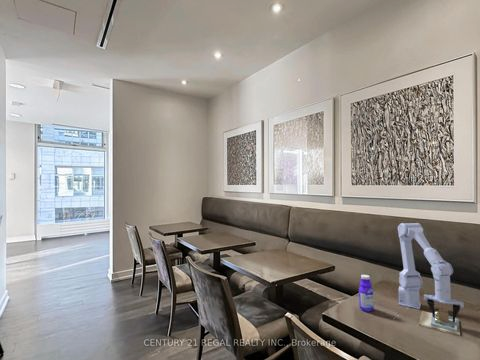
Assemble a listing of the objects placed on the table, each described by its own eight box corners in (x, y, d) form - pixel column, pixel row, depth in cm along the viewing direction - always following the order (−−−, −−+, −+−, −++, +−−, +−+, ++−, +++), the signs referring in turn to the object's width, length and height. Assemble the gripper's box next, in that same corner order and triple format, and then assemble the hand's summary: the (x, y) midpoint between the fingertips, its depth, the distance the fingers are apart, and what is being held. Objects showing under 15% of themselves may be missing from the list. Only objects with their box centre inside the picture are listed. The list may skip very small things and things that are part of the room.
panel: (430, 325, 120) (430, 313, 120) (432, 314, 130) (431, 303, 130) (457, 332, 114) (456, 319, 114) (456, 319, 124) (455, 308, 125)
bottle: (366, 313, 134) (365, 278, 134) (357, 308, 139) (356, 275, 140) (376, 310, 137) (375, 276, 138) (366, 305, 142) (365, 273, 143)
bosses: (434, 325, 120) (434, 319, 120) (435, 315, 129) (434, 310, 129) (442, 327, 118) (441, 321, 118) (442, 317, 127) (442, 312, 127)
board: (419, 325, 121) (419, 323, 122) (421, 312, 134) (421, 310, 134) (459, 335, 113) (459, 334, 113) (458, 320, 125) (458, 319, 125)
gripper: (422, 288, 124) (424, 317, 124) (463, 295, 115) (464, 327, 115) (424, 283, 130) (425, 311, 129) (462, 290, 121) (463, 320, 120)
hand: (443, 318), depth 122 cm, fingers open, 7 cm apart
